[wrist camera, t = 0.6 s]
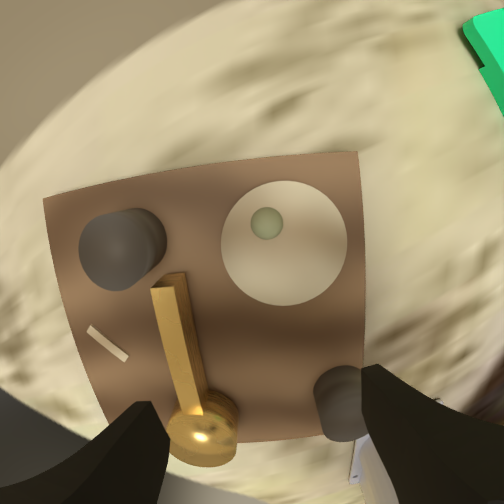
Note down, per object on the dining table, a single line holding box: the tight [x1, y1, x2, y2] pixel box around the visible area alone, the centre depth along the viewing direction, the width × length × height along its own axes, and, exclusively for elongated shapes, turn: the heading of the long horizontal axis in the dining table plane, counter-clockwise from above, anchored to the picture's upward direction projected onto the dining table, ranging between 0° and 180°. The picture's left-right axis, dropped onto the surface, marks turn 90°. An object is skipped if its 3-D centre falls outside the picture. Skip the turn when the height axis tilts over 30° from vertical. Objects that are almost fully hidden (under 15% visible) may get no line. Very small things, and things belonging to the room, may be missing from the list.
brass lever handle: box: [150, 273, 239, 467], centre depth 16 cm, size 12×4×3 cm, turn 6°
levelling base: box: [43, 151, 368, 443], centre depth 17 cm, size 19×19×5 cm
